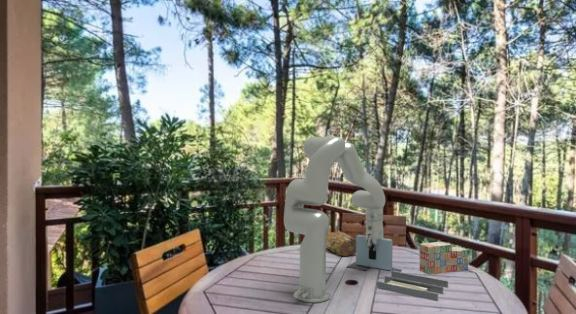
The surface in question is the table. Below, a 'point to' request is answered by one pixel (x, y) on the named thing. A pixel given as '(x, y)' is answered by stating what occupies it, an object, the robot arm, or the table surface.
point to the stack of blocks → (442, 258)
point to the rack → (413, 291)
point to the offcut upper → (407, 285)
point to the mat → (366, 267)
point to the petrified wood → (341, 243)
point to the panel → (382, 253)
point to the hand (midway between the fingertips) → (373, 257)
